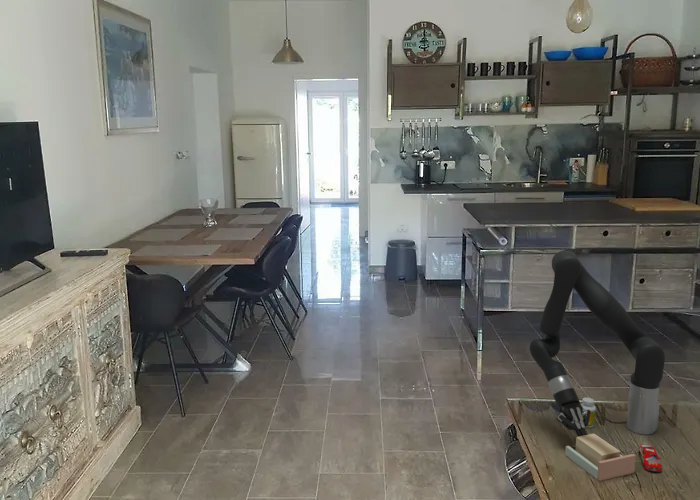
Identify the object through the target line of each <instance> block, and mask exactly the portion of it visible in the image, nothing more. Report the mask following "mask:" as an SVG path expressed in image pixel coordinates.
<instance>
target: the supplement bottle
mask: <svg viewBox="0 0 700 500" xmlns="http://www.w3.org/2000/svg"><path fill="white" fill-rule="evenodd" d="M580 405H581V406H582V407H583V409H585V410H590V411H591V413H590V419H589V424H588V425H587V426H586V427H585V428H589V429H591V428H594V427H595V423H596V413H597V412H596V410H597V407H596V406H595V400H594V399H593V398H591V397H583V398H582V400H581V403H580ZM582 418H583V416H582Z"/></svg>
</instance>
